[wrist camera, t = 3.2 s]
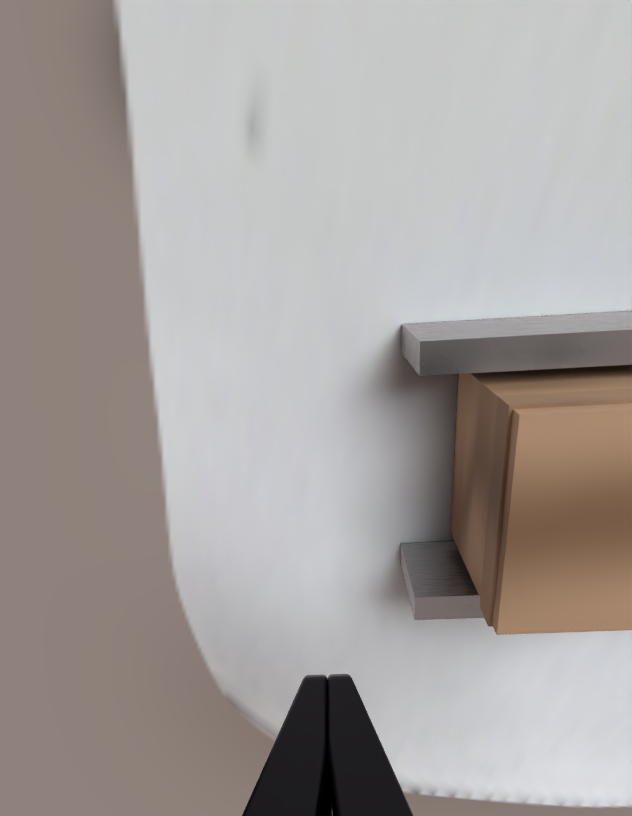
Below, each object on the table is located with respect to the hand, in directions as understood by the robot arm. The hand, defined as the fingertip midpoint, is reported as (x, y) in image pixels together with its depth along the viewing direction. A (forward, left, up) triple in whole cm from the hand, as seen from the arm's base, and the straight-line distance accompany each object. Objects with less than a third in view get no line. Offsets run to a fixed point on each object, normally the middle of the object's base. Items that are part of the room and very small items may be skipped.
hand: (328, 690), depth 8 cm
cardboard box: (0, -8, -9) cm, 12 cm away
